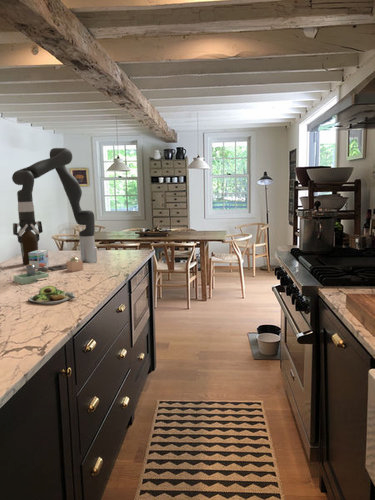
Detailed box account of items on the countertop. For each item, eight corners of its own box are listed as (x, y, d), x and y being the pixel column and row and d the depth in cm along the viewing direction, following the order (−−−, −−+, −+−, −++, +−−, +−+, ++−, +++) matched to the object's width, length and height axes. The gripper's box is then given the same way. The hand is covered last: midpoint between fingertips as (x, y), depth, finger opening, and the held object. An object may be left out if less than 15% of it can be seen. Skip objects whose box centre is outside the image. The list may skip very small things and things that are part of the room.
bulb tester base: (61, 268, 230) (61, 263, 229) (70, 270, 223) (69, 265, 222) (31, 273, 217) (31, 268, 217) (39, 276, 210) (39, 270, 210)
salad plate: (86, 296, 170) (86, 286, 170) (59, 308, 154) (58, 296, 153) (52, 292, 178) (51, 282, 177) (22, 303, 161) (21, 292, 161)
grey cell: (33, 278, 204) (32, 263, 203) (36, 279, 201) (35, 263, 200) (26, 279, 201) (24, 264, 200) (29, 280, 198) (27, 265, 197)
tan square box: (77, 270, 223) (76, 259, 222) (83, 272, 219) (82, 260, 218) (67, 272, 219) (66, 260, 218) (72, 274, 214) (72, 262, 213)
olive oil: (39, 261, 256) (36, 223, 252) (40, 264, 246) (36, 225, 242) (21, 262, 252) (18, 224, 248) (21, 265, 242) (18, 226, 238)
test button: (43, 265, 218) (43, 262, 218) (46, 266, 216) (45, 263, 216) (38, 266, 216) (37, 263, 216) (40, 267, 214) (40, 264, 213)
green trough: (40, 276, 210) (40, 271, 209) (48, 279, 203) (48, 273, 202) (14, 281, 200) (13, 275, 199) (22, 284, 193) (21, 278, 192)
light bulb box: (39, 271, 225) (38, 252, 223) (29, 270, 226) (27, 252, 224) (49, 267, 235) (48, 249, 233) (39, 267, 236) (38, 249, 235)
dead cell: (78, 270, 221) (77, 256, 220) (79, 271, 218) (78, 257, 216) (70, 270, 220) (69, 256, 218) (72, 272, 216) (71, 258, 215)
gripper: (14, 211, 189) (18, 244, 191) (43, 210, 199) (45, 241, 201) (9, 211, 194) (12, 243, 197) (36, 209, 204) (39, 240, 206)
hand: (29, 242), depth 199 cm, fingers open, 8 cm apart
